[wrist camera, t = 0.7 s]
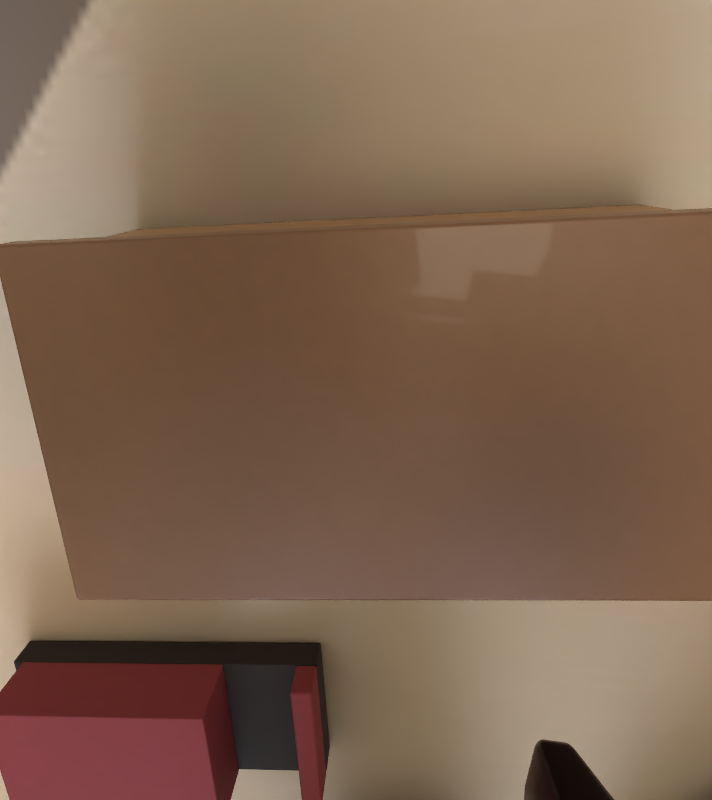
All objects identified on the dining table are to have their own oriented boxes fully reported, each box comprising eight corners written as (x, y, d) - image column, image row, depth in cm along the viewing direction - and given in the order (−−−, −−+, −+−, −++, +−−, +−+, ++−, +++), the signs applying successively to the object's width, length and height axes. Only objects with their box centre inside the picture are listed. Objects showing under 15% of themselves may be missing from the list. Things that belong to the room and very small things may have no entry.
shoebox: (626, 470, 22) (722, 601, 15) (169, 477, 23) (76, 600, 17) (654, 193, 19) (788, 208, 12) (125, 219, 20) (-9, 245, 14)
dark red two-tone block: (329, 746, 27) (318, 834, 23) (57, 740, 28) (7, 824, 24) (320, 642, 25) (306, 721, 22) (29, 640, 26) (-29, 714, 23)
